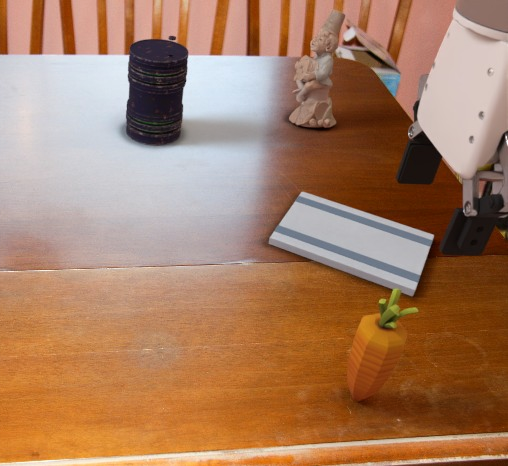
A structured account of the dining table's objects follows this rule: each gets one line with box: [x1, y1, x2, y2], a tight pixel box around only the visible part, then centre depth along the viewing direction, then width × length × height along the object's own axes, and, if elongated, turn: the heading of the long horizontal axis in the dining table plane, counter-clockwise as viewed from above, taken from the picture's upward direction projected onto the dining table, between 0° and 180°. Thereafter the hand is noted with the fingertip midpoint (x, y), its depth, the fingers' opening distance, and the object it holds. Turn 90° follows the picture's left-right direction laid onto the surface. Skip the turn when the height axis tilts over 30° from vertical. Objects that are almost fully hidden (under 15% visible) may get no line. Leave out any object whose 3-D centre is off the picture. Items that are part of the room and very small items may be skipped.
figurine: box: [288, 9, 346, 128], centre depth 116 cm, size 9×8×20 cm
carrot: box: [346, 289, 420, 402], centre depth 66 cm, size 5×5×15 cm
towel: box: [268, 191, 435, 297], centre depth 92 cm, size 20×14×1 cm
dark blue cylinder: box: [125, 35, 189, 146], centre depth 110 cm, size 10×10×18 cm
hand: (434, 215), depth 53 cm, fingers open, 9 cm apart
